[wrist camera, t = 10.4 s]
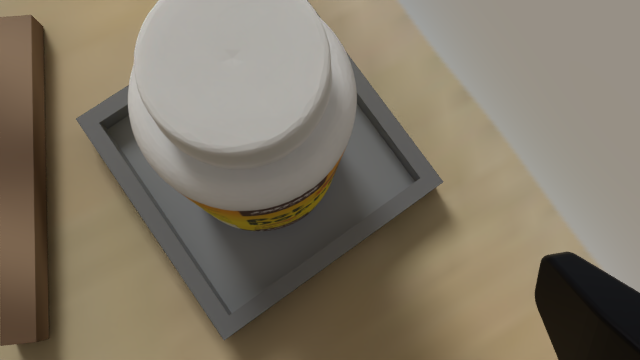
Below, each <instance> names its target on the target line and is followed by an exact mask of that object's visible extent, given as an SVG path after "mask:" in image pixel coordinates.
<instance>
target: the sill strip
mask: <svg viewBox="0 0 640 360" xmlns="http://www.w3.org/2000/svg"><path fill="white" fill-rule="evenodd" d="M46 339H49V303H48V251H47V198H46V146H45V93H44V41H43V26H42V25H41V24H40V23H39V22H38V21H37V20H36V19H35V18H34V17H33V16H32V15H24V16H10V17H0V346H2V345H12V344H22V343H32V342H38V341H42V340H46Z"/></svg>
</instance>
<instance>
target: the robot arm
mask: <svg viewBox="0 0 640 360" xmlns="http://www.w3.org/2000/svg"><path fill="white" fill-rule="evenodd" d="M535 301H536V305H537V308H538V311H539V313H540V316H541V318H542V320H543V323H544V325H545V328H546V330H547V333H548V335H549V338H550V340H551V342H552V345H553V347H554V350H555V352H556V355H557V357H558V360H640V293H639V292H637V291H636V290H634V289H633V288H631V287H629V286H627V285H626V284H624V283H623V282H621V281H619V280H618V279H616V278H614V277H612V276H611V275H609V274H608V273H606V272H604V271H603V270H601V269H599V268H598V267H596V266H594V265H593V264H591V263H589V262H588V261H586V260H584V259H583V258H581V257H579V256H577V255H576V254H574V253H571V252H562V253H556V254H550V255H546V256H544V257H543V259H542V260H541V263H540V268H539V273H538V278H537V283H536V288H535Z"/></svg>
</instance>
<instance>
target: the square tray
mask: <svg viewBox="0 0 640 360" xmlns="http://www.w3.org/2000/svg"><path fill="white" fill-rule="evenodd" d="M307 1H308V0H307ZM309 4H310V3H309ZM310 5H311V4H310ZM316 13H317V12H316ZM317 15H318V14H317ZM318 16H319V15H318ZM319 17H320V16H319ZM347 55H348V54H347ZM348 58H349V60H350V63H351V66H352V69H353V73H354V77H355V82H356V91H357V106H356V115H355V121H354V125H353V130H352V133H351V136H350V139H349V141H348V144H347V146H346V149H345V151H344V153H343V156H342V158H341V160H340V163H339V165H338V168H337V170H336V172H335V174H334V177H333V179H332V181H331V184H330V186H329V188H328V190H327V192H326V193H325V195H324V197H323V198H322V200H321V201H320V202H319V203H318V205H317V206H316V207H315V208H314V209H313V210H312V211H311V212H310V213H309V214H308V215H306V216H305V217H304V218H302V219H300V220H299V221H297V222H295V223H293V224H291V225H289V226H287V227H284V228H281V229H277V230H272V231H262V232H259V231H248V230H242V229H238V228H235V227H232V226H230V225H227V224H225V223H223V222H221V221H219V220H218V219H216V218H215V217H213V216H212V215H211V214H209V213H208V212H206V211H205V210H203V209H202V208H201V207H199V206H198V205H196V204H195V203H193V202H192V201H191V200H189V199H188V198H186V197H185V196H184V195H182V194H181V193H179V192H178V191H176V190H175V189H174V188H173V187H171V186H170V185H169V184H168V183H166V182H165V181H164V180H163V179H162V178H161V177H160V176H159V175H158V174H157V172H156V171H155V170H154V169H153V168H152V167H151V165H150V164H149V163H148V161H147V160H146V158H145V157H144V155H143V154H142V152H141V150H140V148H139V146H138V144H137V142H136V139H135V137H134V134H133V131H132V127H131V123H130V118H129V112H128V89H129V85H128V86H126V87H125V88H123V89H122V90H120V91H119V92H117V93H116V94H114V95H112V96H111V97H109V98H108V99H106V100H105V101H103V102H101V103H100V104H98V105H97V106H95V107H94V108H92V109H90V110H89V111H87V112H86V113H84V114H83V115H81V116H80V117H78V118H76V120H77V121H78V123H79V124H80V126H81V127H82V129H83V130H84V132H85V133H86V135H87V136H88V138H89V139H90V141H91V142H92V144H93V145H94V147H95V148H96V150H97V151H98V153H99V154H100V156H101V157H102V159H103V160H104V162H105V163H106V165H107V166H108V168H109V169H110V171H111V172H112V174H113V175H114V177H115V178H116V180H117V181H118V183H119V184H120V186H121V187H122V189H123V190H124V192H125V193H126V195H127V196H128V198H129V199H130V201H131V202H132V204H133V205H134V207H135V208H136V210H137V211H138V213H139V214H140V216H141V217H142V218H143V220H144V221H145V223H146V224H147V226H148V227H149V229H150V230H151V232H152V233H153V235H154V236H155V238H156V239H157V241H158V242H159V244H160V245H161V247H162V248H163V250H164V251H165V253H166V254H167V256H168V257H169V259H170V260H171V262H172V263H173V265H174V266H175V268H176V269H177V271H178V272H179V274H180V275H181V277H182V278H183V280H184V281H185V283H186V284H187V286H188V287H189V289H190V290H191V292H192V293H193V295H194V296H195V298H196V299H197V301H198V302H199V304H200V305H201V307H202V308H203V310H204V311H205V313H206V314H207V316H208V317H209V319H210V320H211V322H212V323H213V325H214V326H215V328H216V329H217V331H218V332H219V334H220V335H221V337H222V338H223V340H225V339H227V338H228V337H230V336H231V335H232V334H234V333H235V332H237V331H238V330H239V329H241V328H242V327H243V326H245V325H246V324H248V323H249V322H250V321H252V320H253V319H255V318H256V317H257V316H259V315H260V314H261V313H263V312H264V311H266V310H267V309H268V308H270V307H271V306H272V305H274V304H275V303H277V302H278V301H279V300H281V299H282V298H284V297H285V296H286V295H288V294H289V293H290V292H292V291H293V290H295V289H296V288H297V287H299V286H300V285H302V284H303V283H304V282H306V281H307V280H308V279H310V278H311V277H313V276H314V275H315V274H317V273H318V272H320V271H321V270H322V269H324V268H325V267H326V266H328V265H329V264H331V263H332V262H333V261H335V260H336V259H337V258H339V257H340V256H342V255H343V254H344V253H346V252H347V251H349V250H350V249H351V248H353V247H354V246H355V245H357V244H358V243H360V242H361V241H362V240H364V239H365V238H367V237H368V236H369V235H371V234H372V233H373V232H375V231H376V230H378V229H379V228H380V227H382V226H383V225H385V224H386V223H387V222H389V221H390V220H391V219H393V218H394V217H396V216H397V215H398V214H400V213H401V212H403V211H404V210H405V209H407V208H408V207H409V206H411V205H412V204H414V203H415V202H416V201H418V200H419V199H420V198H422V197H423V196H425V195H426V194H427V193H429V192H430V191H432V190H433V189H434V188H436V187H437V186H438V185H440V184H441V183H443V181H442V179H441V178H440V177H439V175H438V174H437V173H436V171H435V170H434V169H433V167H432V166H431V165H430V163H429V162H428V161H427V159H426V158H425V157H424V155H423V154H422V153H421V151H420V150H419V149H418V147H417V146H416V145H415V143H414V142H413V141H412V139H411V138H410V137H409V135H408V134H407V133H406V131H405V130H404V129H403V127H402V126H401V125H400V123H399V122H398V121H397V119H396V118H395V117H394V115H393V114H392V113H391V111H390V110H389V109H388V107H387V106H386V105H385V103H384V102H383V101H382V99H381V98H380V97H379V95H378V94H377V93H376V91H375V90H374V89H373V87H372V86H371V85H370V83H369V82H368V81H367V79H366V78H365V77H364V75H363V74H362V73H361V71H360V70H359V69H358V67H357V66H356V65H355V63H354V62H353V61H352V59H351V58H350V57H349V55H348Z"/></svg>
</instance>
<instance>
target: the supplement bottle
mask: <svg viewBox="0 0 640 360" xmlns="http://www.w3.org/2000/svg"><path fill="white" fill-rule="evenodd" d="M356 106H357V91H356V82H355V77H354V73H353V69H352V66H351V63H350V60H349V58H348V55H347V53H346V51H345V49H344V47H343V46H342V44H341V42H340V40H339V39H338V38H337V36H336V35H335V33H334V32H333V31H332V30H331V28H330V27H329V26H328V25H327V24H326V23H325V22H324V21H323V20H322V19H321V18H320V17H319V16H318V15H317V13H316V11H315V10H314V8H313V7H312V6H311V5H310V4H309V2H308V1H307V0H159V1H158V2H157V3H156V4H155V6H154V7H153V8H152V10H151V11H150V12H149V14H148V15H147V17H146V19H145V21H144V22H143V24H142V27H141V29H140V32H139V35H138V38H137V41H136V46H135V51H134V65H133V68H132V72H131V76H130V81H129V89H128V112H129V118H130V123H131V127H132V131H133V134H134V137H135V139H136V142H137V144H138V146H139V148H140V150H141V152H142V154H143V155H144V157H145V158H146V160H147V161H148V163H149V164H150V165H151V167H152V168H153V169H154V170H155V171H156V172H157V174H158V175H159V176H160V177H161V178H162V179H163V180H164V181H165V182H166V183H168V184H169V185H170V186H171V187H173V188H174V189H175V190H176V191H178V192H179V193H181V194H182V195H184V196H185V197H186V198H188V199H189V200H191V201H192V202H193V203H195V204H196V205H198V206H199V207H201V208H202V209H203V210H205V211H206V212H208V213H209V214H211V215H212V216H213V217H215V218H216V219H218V220H219V221H221V222H223V223H225V224H227V225H230V226H232V227H235V228H238V229H242V230H248V231H259V232H262V231H272V230H277V229H281V228H284V227H287V226H289V225H291V224H293V223H295V222H297V221H299V220H300V219H302V218H304V217H305V216H306V215H308V214H309V213H310V212H311V211H312V210H313V209H314V208H315V207H316V206H317V205H318V203H319V202H320V201H321V200H322V198H323V197H324V195H325V193H326V192H327V190H328V188H329V186H330V184H331V181H332V179H333V177H334V174H335V172H336V170H337V168H338V165H339V163H340V160H341V158H342V156H343V153H344V151H345V149H346V146H347V144H348V141H349V139H350V136H351V133H352V130H353V125H354V121H355V115H356Z"/></svg>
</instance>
